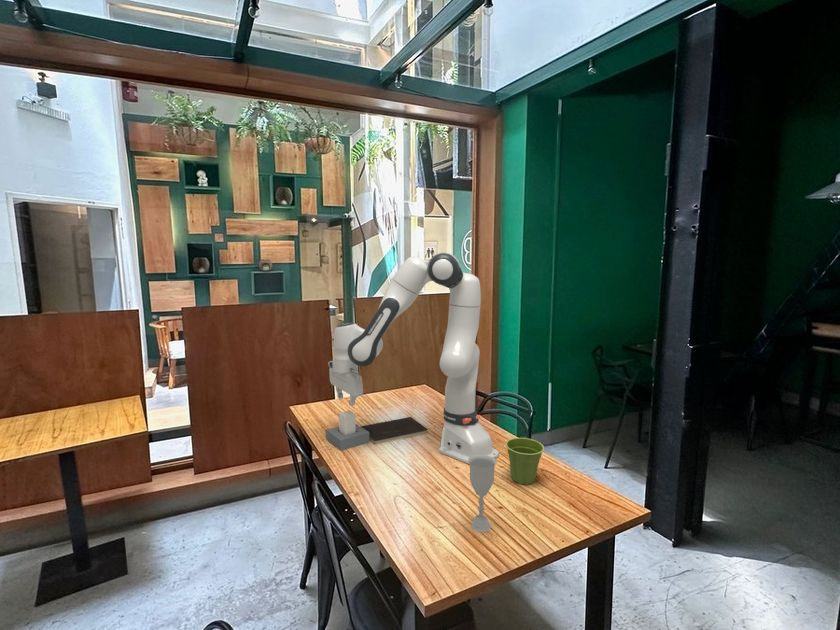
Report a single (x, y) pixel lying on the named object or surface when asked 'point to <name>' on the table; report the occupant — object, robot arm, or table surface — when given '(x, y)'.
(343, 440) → the holder
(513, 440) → the plant pot
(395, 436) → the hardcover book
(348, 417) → the cream block
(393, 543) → the table surface
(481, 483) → the chalice
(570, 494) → the table surface
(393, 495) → the table surface
